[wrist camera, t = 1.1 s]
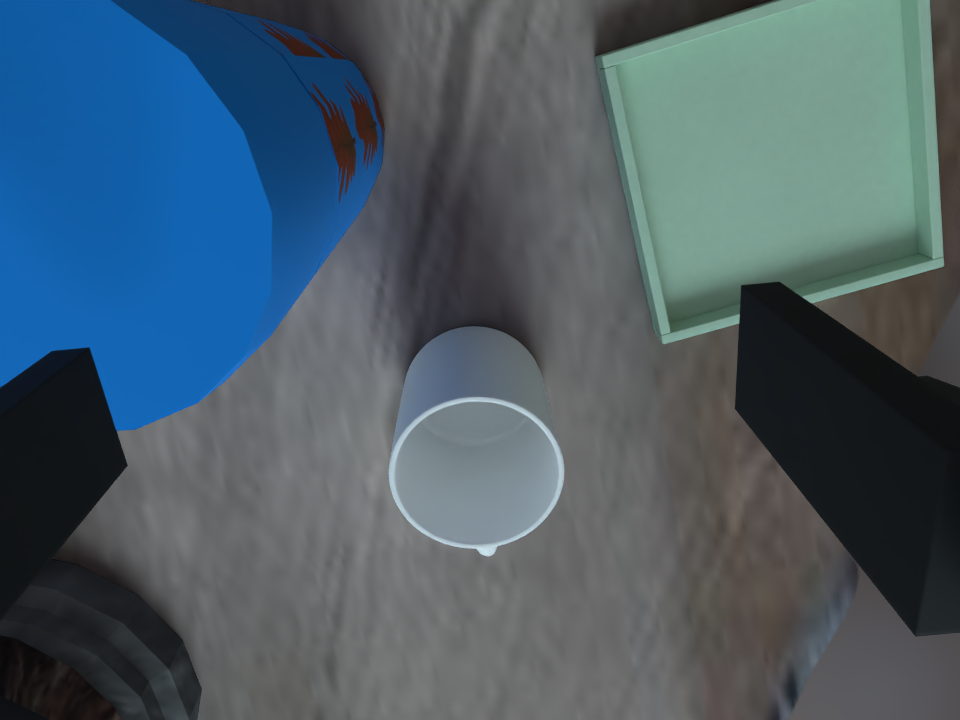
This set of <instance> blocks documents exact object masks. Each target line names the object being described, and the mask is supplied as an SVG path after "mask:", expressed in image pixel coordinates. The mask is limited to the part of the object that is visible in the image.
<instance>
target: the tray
mask: <svg viewBox="0 0 960 720" xmlns="http://www.w3.org/2000/svg"><path fill="white" fill-rule="evenodd" d="M595 61H596V66H597V70H598V75H599V80H600V84H601V89H602V93H603V98H604V103H605V107H606V112H607V116H608V121H609V126H610V130H611V135H612V139H613V144H614V149H615V153H616V158H617V162H618V167H619V172H620V176H621V181H622V186H623V190H624V195H625V199H626V204H627V209H628V213H629V218H630V222H631V227H632V232H633V236H634V241H635V245H636V250H637V255H638V259H639V264H640V268H641V273H642V278H643V282H644V287H645V291H646V296H647V301H648V305H649V310H650V314H651V319H652V324H653V328H654V332H655V334H656V335H657V336H658V338H659V339H660V341H661V342H662V343H663V344H666V343H670V342H673V341H677V340H680V339H684V338H688V337H691V336H695V335H698V334H702V333H706V332H709V331H713V330H716V329H720V328H724V327H727V326H731V325H734V324H738V323H739V318H740V298H741V285H748V284H759V283H769V282H781V283H782V284H784V285H785V286H787V287H788V288H790V289H791V290H793V291H794V292H795V293H797V294H798V295H800V296H801V297H803V298H804V299H806V300H807V301H808V302H810V303H814V302H817V301H821V300H825V299H828V298H832V297H835V296H839V295H843V294H846V293H850V292H853V291H857V290H861V289H864V288H868V287H871V286H875V285H879V284H882V283H886V282H889V281H893V280H897V279H900V278H904V277H907V276H911V275H915V274H918V273H922V272H925V271H929V270H933V269H936V268H940V267H943V266H944V258H943V238H942V220H941V201H940V183H939V164H938V146H937V127H936V109H935V90H934V72H933V53H932V35H931V16H930V0H773V1H770V2H766V3H763V4H760V5H757V6H754V7H750V8H747V9H744V10H741V11H738V12H735V13H731V14H728V15H725V16H722V17H719V18H716V19H712V20H709V21H706V22H703V23H700V24H697V25H693V26H690V27H687V28H684V29H681V30H678V31H674V32H671V33H668V34H665V35H662V36H659V37H655V38H652V39H649V40H646V41H643V42H639V43H636V44H633V45H630V46H627V47H624V48H620V49H617V50H614V51H611V52H608V53H605V54H601V55H598V56H596V57H595Z"/></svg>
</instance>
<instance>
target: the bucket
mask: <svg viewBox="0 0 960 720" xmlns="http://www.w3.org/2000/svg"><path fill="white" fill-rule="evenodd" d="M200 697H201V687H200V685H199V682H198V680H197V677H196V674H195V672H194V669H193V667H192V664H191V661H190V659H189V656H188V654H187V651H186V648H185V646H184V643H183V641H182V640H181V639H180V638H179V637H178V636H177V635H176V634H175V633H174V632H173V631H172V630H171V629H170V628H169V627H168V626H167V625H166V624H165V622H164V621H163V620H162V619H161V618H160V617H159V616H158V615H157V614H156V613H155V612H154V611H153V610H152V609H151V608H150V607H149V606H148V605H147V604H146V603H145V602H144V601H143V600H142V599H141V598H140V597H139V596H137V595H135V594H133V593H131V592H130V591H128V590H126V589H124V588H122V587H120V586H118V585H116V584H114V583H112V582H110V581H108V580H106V579H104V578H102V577H100V576H98V575H96V574H94V573H93V572H91V571H89V570H87V569H85V568H83V567H81V566H79V565H77V564H73V563H67V562H62V561H56V560H50V561H49V562H48V563H47V564H46V566H45V567H44V568H43V569H42V571H41V572H40V573H39V574H38V575H37V577H36V578H35V579H34V580H33V582H32V583H31V584H30V585H29V586H28V588H27V589H26V590H25V591H24V593H23V594H22V595H21V596H20V597H19V599H18V600H17V601H16V602H15V603H14V605H13V606H12V607H11V608H10V610H9V611H8V612H7V613H6V614H5V616H4V617H3V618H2V619H1V621H0V720H197V718H198V711H199V704H200Z"/></svg>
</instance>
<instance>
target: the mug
mask: <svg viewBox="0 0 960 720" xmlns="http://www.w3.org/2000/svg"><path fill="white" fill-rule="evenodd" d="M563 481H564V461H563V455H562V451H561V448H560V444H559V440H558V436H557V432H556V428H555V424H554V420H553V416H552V412H551V409H550V405H549V401H548V397H547V393H546V389H545V385H544V382H543V378H542V375H541V372H540V370H539V367H538V365H537V363H536V361H535V360H534V358H533V356H532V355H531V354H530V352H529V351H528V350H527V349H526V348H525V347H524V346H523V345H522V344H521V343H520V342H519V341H517V340H516V339H514V338H513V337H512V336H510V335H508V334H506V333H504V332H501V331H499V330H496V329H492V328H487V327H479V326H467V327H461V328H456V329H453V330H449V331H447V332H445V333H442V334H440V335H439V336H437V337H435V338H433V339H432V340H431V341H430V342H428V343H427V344H426V345H425V346H424V347H423V348H422V349H421V350H420V351H419V353H418V354H417V355H416V357H415V358H414V359H413V361H412V363H411V365H410V367H409V370H408V372H407V375H406V378H405V382H404V387H403V392H402V397H401V403H400V408H399V413H398V419H397V424H396V430H395V435H394V440H393V446H392V451H391V456H390V462H389V484H390V488H391V492H392V495H393V497H394V500H395V502H396V504H397V506H398V507H399V509H400V511H401V512H402V513H403V515H404V516H405V517H406V519H407V520H408V521H409V522H410V523H411V524H412V525H413V526H414V527H416V528H417V529H418V530H419V531H421V532H422V533H424V534H425V535H427V536H429V537H430V538H432V539H435V540H437V541H439V542H441V543H445V544H448V545H451V546H456V547H461V548H473V549H475V548H476V549H477V550H478V551H479V552H480V553H481V554H482V555H484V556H491V555H493V554H494V553H495V551H496V549H497V546H500V545H503V544H507V543H509V542H512V541H515V540H517V539H519V538H521V537H523V536H525V535H526V534H528V533H529V532H531V531H532V530H534V529H535V528H536V527H537V526H538V525H539V524H541V523H542V522H543V521H544V519H545V518H546V517H547V516H548V515H549V513H550V512H551V511H552V509H553V508H554V506H555V504H556V502H557V500H558V498H559V496H560V493H561V490H562V486H563Z"/></svg>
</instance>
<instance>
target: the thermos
mask: <svg viewBox="0 0 960 720" xmlns="http://www.w3.org/2000/svg"><path fill="white" fill-rule="evenodd" d="M384 129H385V128H384V125H383V121H382V117H381V114H380V110H379V107H378V103H377V99H376V96H375V93H374V92H373V90H372V89H371V87H370V86H369V84H368V83H367V81H366V80H365V78H364V77H363V75H362V74H361V72H360V71H359V69H358V68H357V66H356V65H355V63H353V62H352V61H351V60H349V59H348V58H347V57H345V56H344V55H343V54H341V53H340V52H339V51H338V50H336V49H335V48H334V47H332V46H331V45H330V44H328V43H327V42H326V41H324V40H322V39H321V38H319V37H317V36H316V35H314V34H312V33H309V32H306V31H302V30H299V29H296V28H293V27H290V26H287V25H284V24H280V23H277V22H274V21H270V20H266V19H263V18H259V17H255V16H251V15H247V14H243V13H239V12H235V11H231V10H227V9H223V8H219V7H215V6H211V5H207V4H203V3H199V2H195V1H191V0H0V388H1V387H2V386H3V385H5V384H6V383H8V382H9V381H10V380H12V379H13V378H15V377H16V376H17V375H19V374H20V373H22V372H23V371H24V370H26V369H27V368H29V367H30V366H31V365H33V364H34V363H36V362H37V361H38V360H40V359H41V358H43V357H44V356H45V355H47V354H48V353H50V352H51V351H56V350H66V349H77V348H87V347H90V350H91V353H92V356H93V359H94V363H95V366H96V369H97V372H98V375H99V378H100V381H101V384H102V388H103V391H104V394H105V397H106V400H107V403H108V406H109V409H110V412H111V416H112V419H113V422H114V425H115V428H116V431H121V430H135V429H138V428H140V427H142V426H145V425H147V424H149V423H152V422H154V421H156V420H159V419H161V418H163V417H166V416H168V415H170V414H173V413H175V412H177V411H180V410H182V409H184V408H187V407H189V406H192V405H194V404H196V403H198V402H199V401H201V400H202V399H203V398H204V397H206V396H207V395H208V394H209V393H211V392H212V391H213V390H215V389H216V388H217V387H218V386H220V385H221V384H222V383H223V382H225V381H226V380H227V379H228V378H229V377H230V376H231V375H232V374H233V373H234V372H235V371H236V370H237V369H238V368H239V367H240V366H241V365H242V364H243V363H244V362H245V361H246V360H247V359H248V358H249V357H250V356H251V355H252V354H253V353H254V352H255V351H256V350H257V349H258V348H259V347H260V346H261V345H262V344H263V343H264V342H265V341H266V340H267V339H268V338H269V337H270V336H271V335H272V333H273V332H274V330H275V329H276V328H277V326H278V325H279V323H280V322H281V321H282V319H283V318H284V317H285V315H286V314H287V312H288V311H289V310H290V308H291V307H292V305H293V304H294V303H295V301H296V300H297V299H298V297H299V296H300V294H301V293H302V292H303V290H304V289H305V287H306V286H307V285H308V283H309V282H310V281H311V279H312V278H313V276H314V275H315V274H316V272H317V271H318V269H319V268H320V267H321V265H322V264H323V263H324V261H325V260H326V258H327V257H328V256H329V254H330V253H331V251H332V250H333V249H334V247H335V246H336V245H337V243H338V242H339V240H340V239H341V238H342V236H343V235H344V233H345V232H346V231H347V229H348V228H349V227H350V225H351V224H352V222H353V221H354V220H355V218H356V217H357V215H358V214H359V213H360V211H361V210H362V209H363V207H364V205H365V203H366V201H367V198H368V196H369V194H370V191H371V189H372V187H373V185H374V182H375V180H376V178H377V175H378V173H379V170H380V168H381V165H382V161H383V145H384Z"/></svg>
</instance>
